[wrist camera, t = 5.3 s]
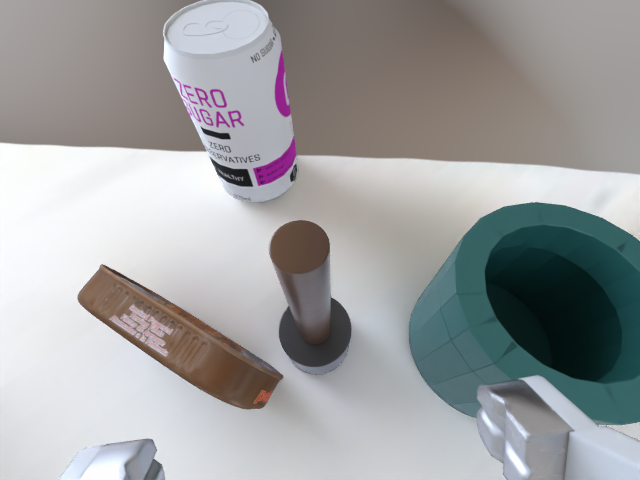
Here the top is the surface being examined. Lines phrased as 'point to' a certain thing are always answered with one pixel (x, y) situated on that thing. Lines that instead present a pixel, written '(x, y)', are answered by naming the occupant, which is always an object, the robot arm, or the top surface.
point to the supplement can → (235, 93)
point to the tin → (179, 340)
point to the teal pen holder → (536, 311)
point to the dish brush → (309, 299)
